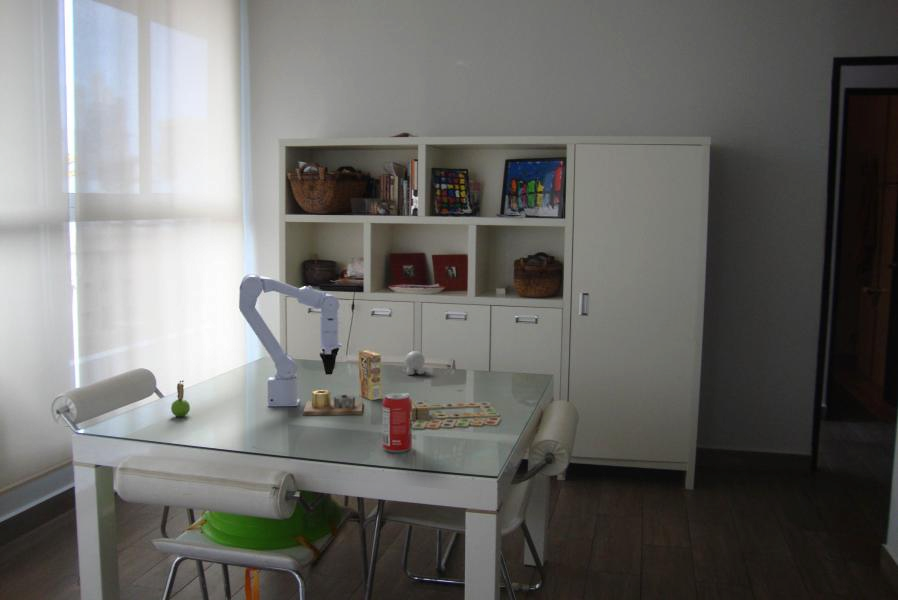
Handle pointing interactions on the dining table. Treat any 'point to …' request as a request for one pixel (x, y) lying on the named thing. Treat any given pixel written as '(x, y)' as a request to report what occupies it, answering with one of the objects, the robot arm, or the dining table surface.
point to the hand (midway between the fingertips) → (329, 371)
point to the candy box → (370, 374)
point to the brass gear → (321, 399)
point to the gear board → (337, 407)
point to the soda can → (397, 422)
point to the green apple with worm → (180, 403)
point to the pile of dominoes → (452, 416)
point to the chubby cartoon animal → (414, 363)
